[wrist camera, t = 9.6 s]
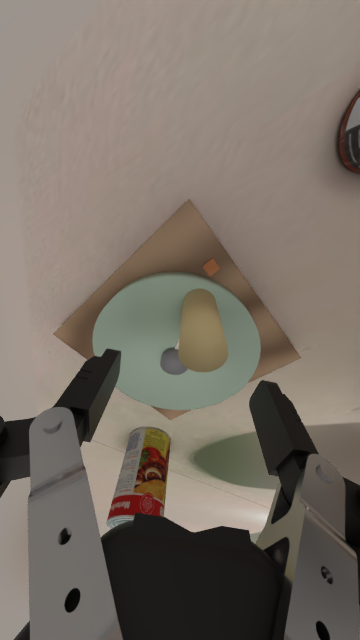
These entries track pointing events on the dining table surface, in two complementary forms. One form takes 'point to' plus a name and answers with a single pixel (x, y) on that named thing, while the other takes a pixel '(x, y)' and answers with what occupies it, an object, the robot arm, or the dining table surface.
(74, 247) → the dining table surface
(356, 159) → the supplement bottle
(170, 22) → the dining table surface
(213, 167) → the dining table surface
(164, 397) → the dial
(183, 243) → the base board
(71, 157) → the dining table surface
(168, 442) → the canned food
